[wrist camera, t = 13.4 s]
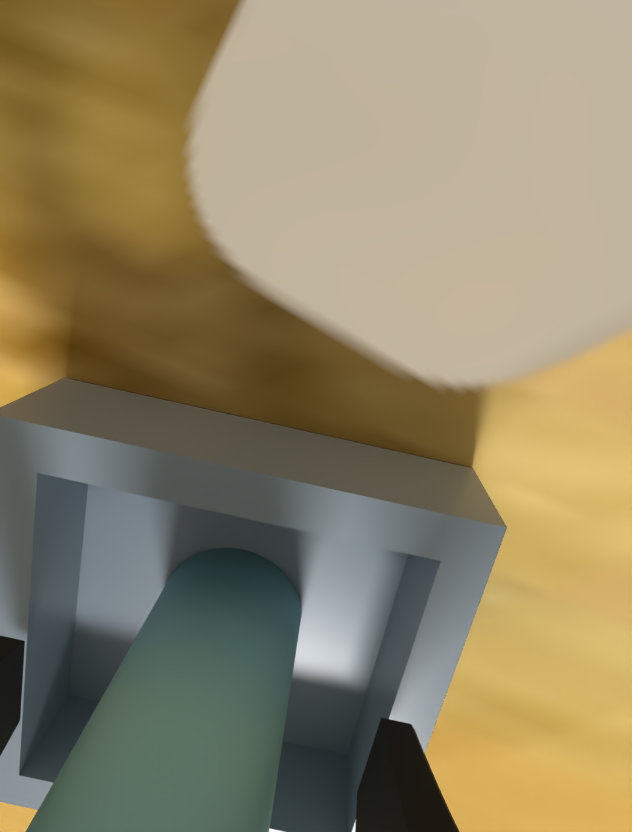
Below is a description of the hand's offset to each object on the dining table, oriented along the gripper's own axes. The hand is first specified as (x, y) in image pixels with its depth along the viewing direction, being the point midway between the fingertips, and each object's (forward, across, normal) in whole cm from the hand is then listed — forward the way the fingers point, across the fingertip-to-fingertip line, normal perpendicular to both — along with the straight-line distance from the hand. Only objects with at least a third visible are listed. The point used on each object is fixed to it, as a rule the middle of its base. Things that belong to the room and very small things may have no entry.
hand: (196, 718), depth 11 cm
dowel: (+3, 0, 0) cm, 3 cm away
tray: (+4, 0, 0) cm, 4 cm away
